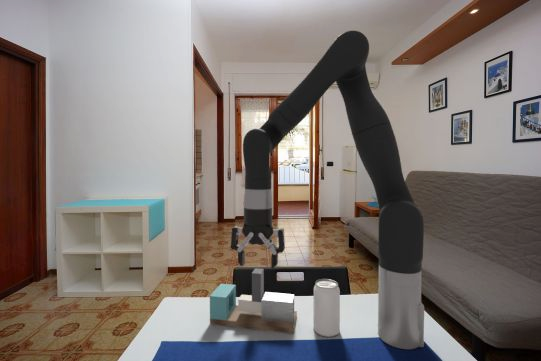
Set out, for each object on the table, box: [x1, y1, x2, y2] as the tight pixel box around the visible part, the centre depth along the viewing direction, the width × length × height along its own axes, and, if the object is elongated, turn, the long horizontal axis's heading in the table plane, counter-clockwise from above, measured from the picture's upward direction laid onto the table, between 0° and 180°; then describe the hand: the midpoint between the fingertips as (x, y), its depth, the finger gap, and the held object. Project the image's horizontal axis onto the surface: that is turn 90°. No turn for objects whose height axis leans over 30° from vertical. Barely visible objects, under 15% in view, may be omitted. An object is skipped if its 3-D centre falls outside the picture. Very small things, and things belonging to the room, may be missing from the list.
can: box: [313, 278, 341, 338], centre depth 68 cm, size 6×6×12 cm
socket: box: [209, 283, 237, 320], centre depth 75 cm, size 4×8×6 cm, turn 169°
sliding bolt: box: [237, 268, 265, 313], centre depth 72 cm, size 14×4×10 cm, turn 79°
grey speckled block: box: [261, 291, 295, 324], centre depth 72 cm, size 8×5×5 cm, turn 79°
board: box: [209, 304, 298, 334], centre depth 73 cm, size 22×8×2 cm, turn 79°
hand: (257, 266), depth 73 cm, fingers open, 8 cm apart
